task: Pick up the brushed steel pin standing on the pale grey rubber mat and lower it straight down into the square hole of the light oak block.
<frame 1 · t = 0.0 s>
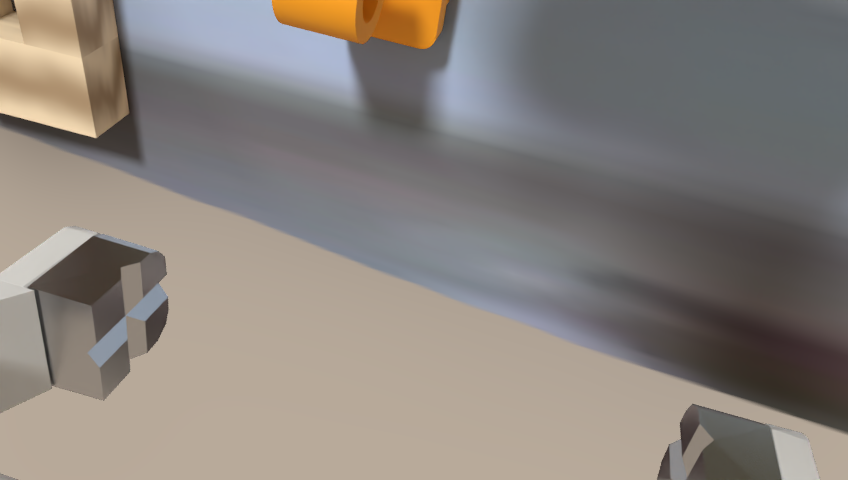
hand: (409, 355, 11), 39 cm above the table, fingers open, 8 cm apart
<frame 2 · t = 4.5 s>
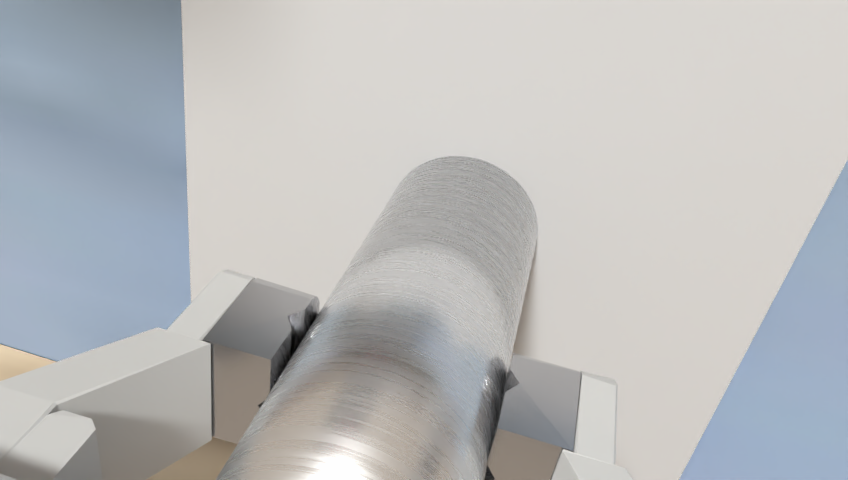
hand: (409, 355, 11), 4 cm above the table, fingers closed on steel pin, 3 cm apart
steel pin: (462, 225, 14), resting on rubber mat, touching gripper
rubber mat: (466, 215, 15), on the table
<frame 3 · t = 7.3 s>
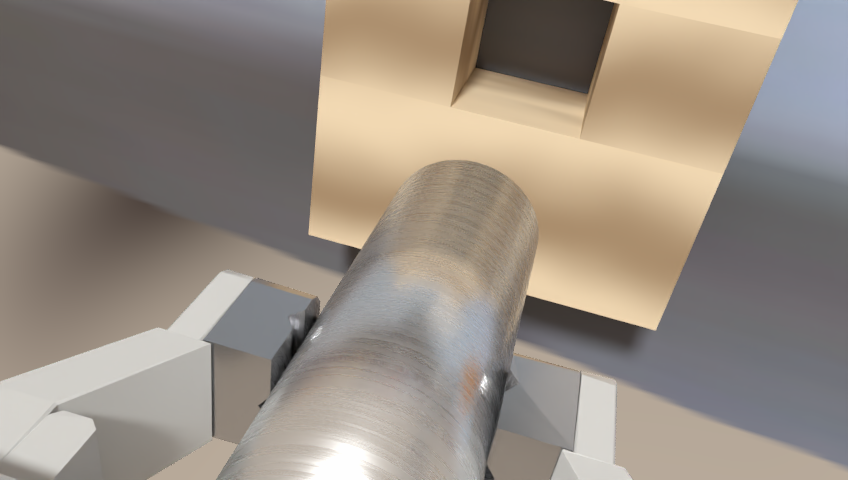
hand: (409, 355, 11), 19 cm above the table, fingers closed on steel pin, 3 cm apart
oak hole block: (544, 23, 27), on the table
steel pin: (462, 229, 14), point 15 cm above the table, touching gripper
when the fingers open (6 cm above the table, at t = 10.1 s): steel pin drops 2 cm, resting in oak hole block.
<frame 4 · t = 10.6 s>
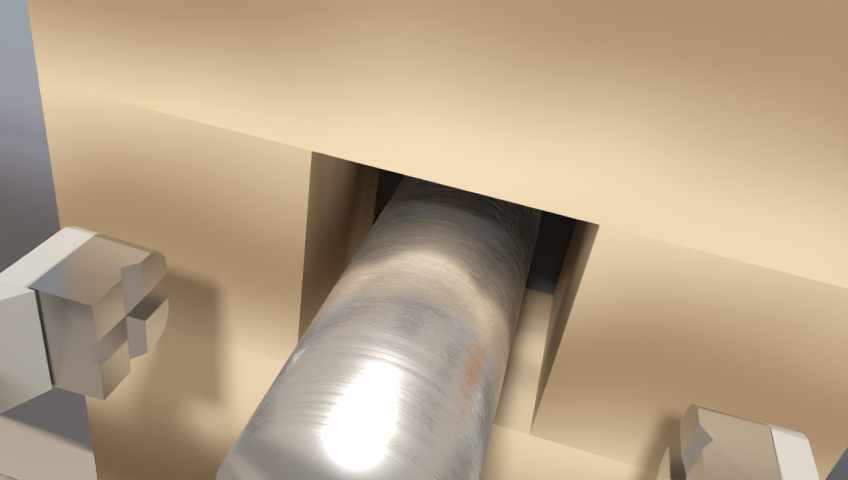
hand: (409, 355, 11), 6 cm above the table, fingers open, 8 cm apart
oak hole block: (478, 187, 16), on the table
steel pin: (477, 188, 16), resting in oak hole block
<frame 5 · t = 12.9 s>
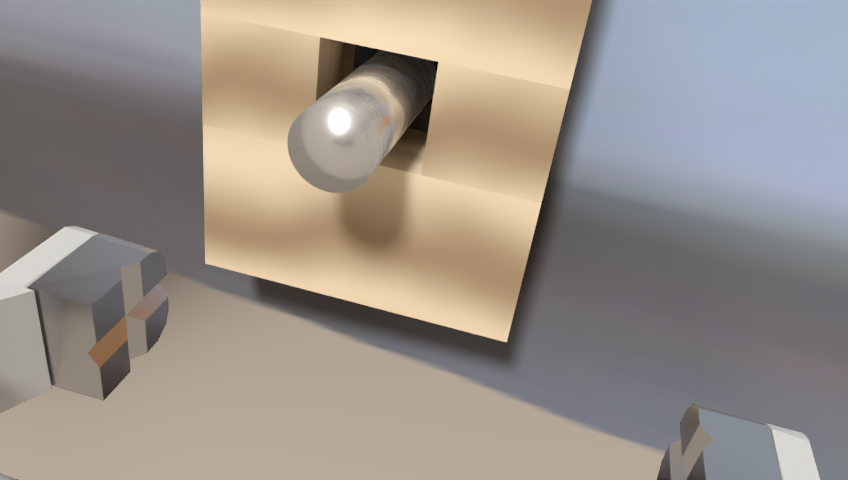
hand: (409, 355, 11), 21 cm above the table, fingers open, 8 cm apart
oak hole block: (403, 76, 31), on the table
steel pin: (403, 77, 31), resting in oak hole block
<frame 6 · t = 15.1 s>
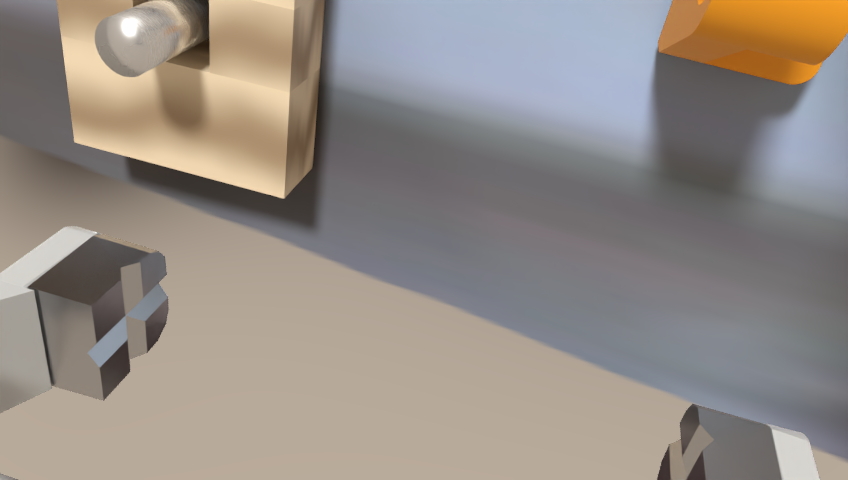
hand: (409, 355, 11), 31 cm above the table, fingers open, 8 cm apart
oak hole block: (212, 5, 42), on the table
steel pin: (212, 5, 43), resting in oak hole block
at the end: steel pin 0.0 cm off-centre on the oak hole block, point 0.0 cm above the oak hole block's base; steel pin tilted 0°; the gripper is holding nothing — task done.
